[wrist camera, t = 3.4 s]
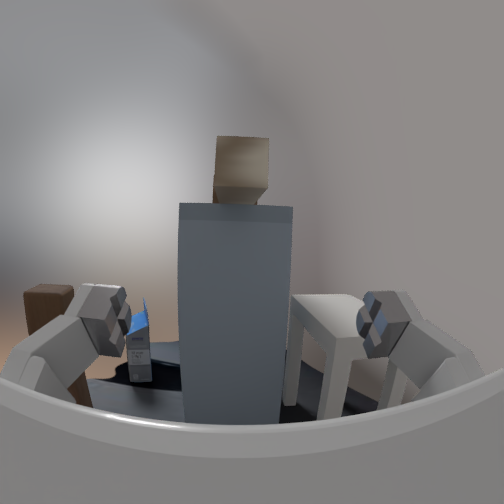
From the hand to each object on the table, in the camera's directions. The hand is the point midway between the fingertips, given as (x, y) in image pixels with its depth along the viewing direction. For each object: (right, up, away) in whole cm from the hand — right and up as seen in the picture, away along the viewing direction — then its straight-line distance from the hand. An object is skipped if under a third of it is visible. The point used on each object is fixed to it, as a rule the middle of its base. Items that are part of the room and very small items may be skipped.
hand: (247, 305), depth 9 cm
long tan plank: (-1, +6, +17) cm, 18 cm away
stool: (+9, -20, +20) cm, 30 cm away
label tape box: (-19, -19, +33) cm, 43 cm away
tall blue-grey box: (-3, -20, +25) cm, 32 cm away
